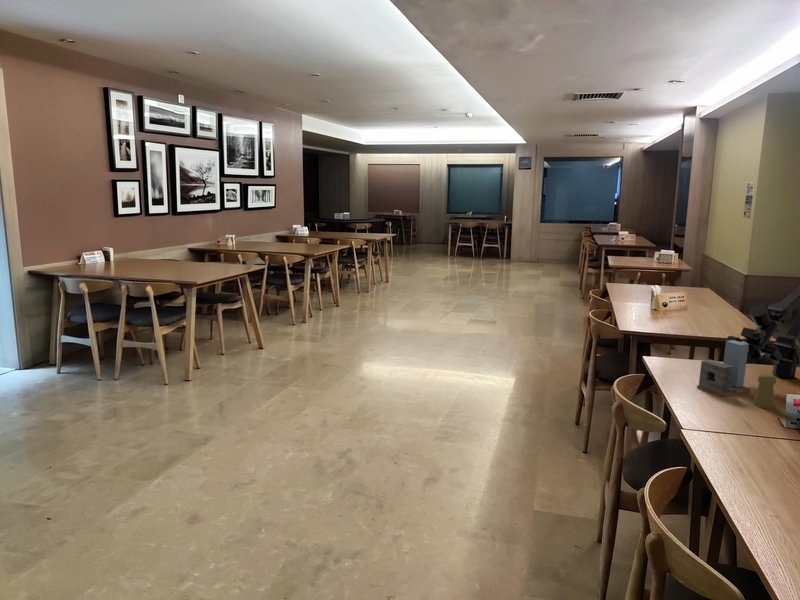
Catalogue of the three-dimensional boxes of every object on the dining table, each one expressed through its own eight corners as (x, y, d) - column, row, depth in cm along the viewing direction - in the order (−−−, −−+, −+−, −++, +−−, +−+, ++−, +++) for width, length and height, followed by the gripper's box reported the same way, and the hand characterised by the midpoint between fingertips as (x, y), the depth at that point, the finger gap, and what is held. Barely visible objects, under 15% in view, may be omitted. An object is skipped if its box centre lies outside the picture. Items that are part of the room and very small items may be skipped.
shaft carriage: (727, 381, 216) (733, 340, 213) (743, 386, 210) (748, 344, 207) (708, 385, 211) (713, 343, 208) (723, 390, 206) (729, 347, 203)
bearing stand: (724, 382, 218) (727, 355, 216) (749, 390, 209) (753, 362, 207) (696, 388, 211) (699, 360, 209) (722, 396, 203) (725, 368, 201)
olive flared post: (777, 408, 192) (782, 377, 190) (759, 408, 192) (763, 377, 190) (766, 402, 198) (771, 371, 196) (749, 401, 198) (753, 371, 196)
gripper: (731, 315, 220) (709, 345, 217) (781, 325, 203) (757, 358, 201) (742, 332, 225) (720, 363, 222) (791, 344, 208) (768, 377, 205)
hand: (740, 365), depth 212 cm, fingers closed
